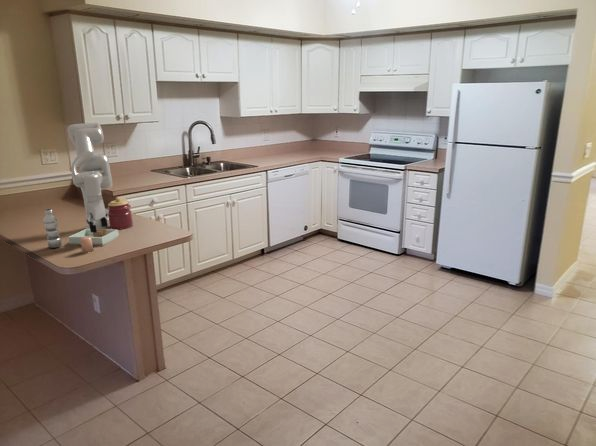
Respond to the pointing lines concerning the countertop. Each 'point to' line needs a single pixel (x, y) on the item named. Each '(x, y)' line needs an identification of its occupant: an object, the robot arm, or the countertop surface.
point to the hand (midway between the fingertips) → (99, 229)
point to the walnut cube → (100, 233)
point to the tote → (95, 240)
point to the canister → (119, 214)
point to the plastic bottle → (51, 229)
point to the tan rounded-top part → (86, 244)
